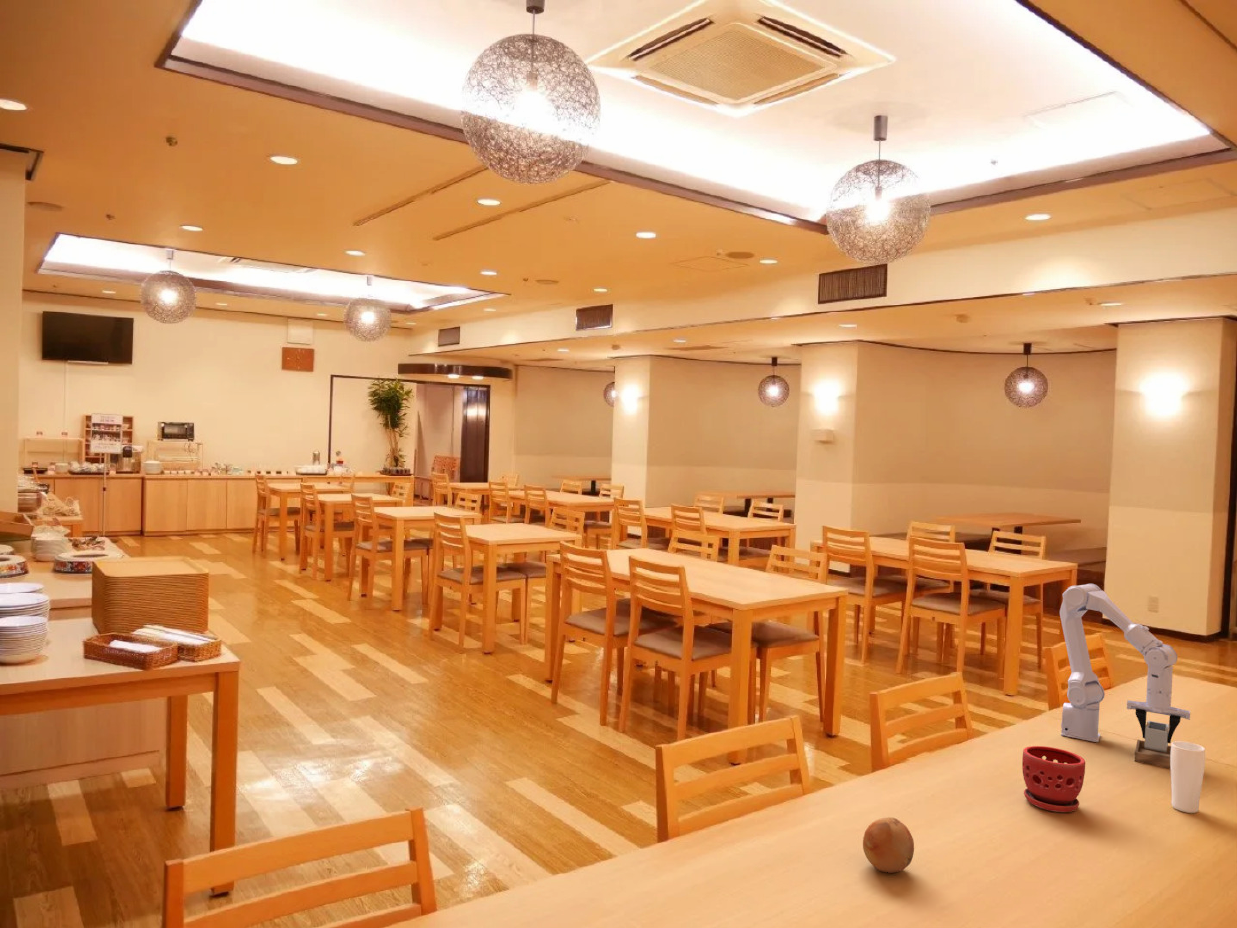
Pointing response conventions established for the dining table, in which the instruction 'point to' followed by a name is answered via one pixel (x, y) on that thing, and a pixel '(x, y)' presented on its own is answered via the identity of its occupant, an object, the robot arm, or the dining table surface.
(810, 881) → the dining table surface
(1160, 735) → the small crate
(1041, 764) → the plant pot
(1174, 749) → the white cup
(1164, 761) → the walnut crate
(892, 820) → the onion
